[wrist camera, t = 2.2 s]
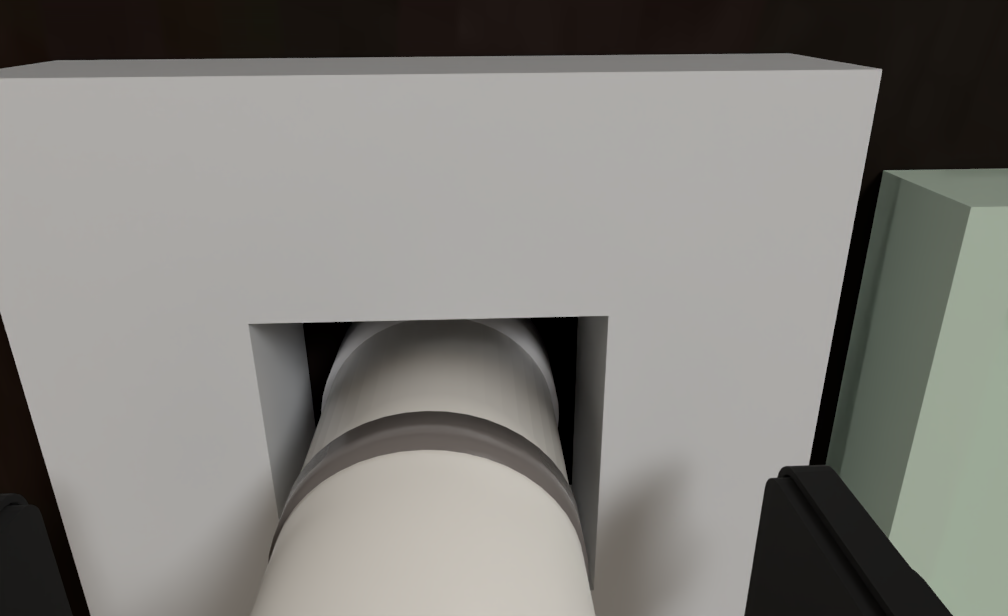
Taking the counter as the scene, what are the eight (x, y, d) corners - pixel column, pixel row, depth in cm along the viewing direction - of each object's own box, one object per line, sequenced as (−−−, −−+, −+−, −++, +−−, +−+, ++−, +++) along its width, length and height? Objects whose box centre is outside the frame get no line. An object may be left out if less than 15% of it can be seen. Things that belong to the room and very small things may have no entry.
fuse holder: (789, 53, 12) (881, 69, 10) (714, 601, 17) (761, 719, 14) (57, 60, 12) (-69, 78, 9) (187, 621, 16) (130, 746, 14)
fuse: (552, 276, 14) (722, 857, 4) (548, 465, 15) (666, 1173, 6) (324, 281, 13) (15, 892, 4) (346, 471, 15) (153, 1205, 6)
